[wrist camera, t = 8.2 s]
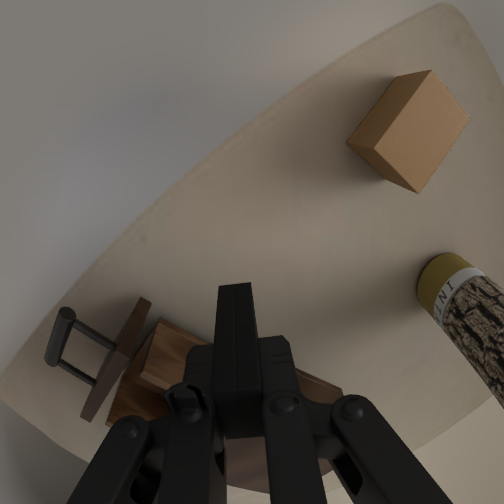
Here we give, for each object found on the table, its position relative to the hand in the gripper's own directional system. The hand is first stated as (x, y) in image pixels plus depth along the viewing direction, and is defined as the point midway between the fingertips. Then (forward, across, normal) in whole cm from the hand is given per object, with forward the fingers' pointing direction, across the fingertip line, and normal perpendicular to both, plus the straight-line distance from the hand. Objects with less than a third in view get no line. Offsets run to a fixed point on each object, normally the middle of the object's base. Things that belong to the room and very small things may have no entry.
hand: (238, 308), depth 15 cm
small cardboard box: (+12, +14, +8) cm, 20 cm away
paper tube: (+12, +21, -8) cm, 25 cm away
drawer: (+11, -10, -12) cm, 19 cm away
